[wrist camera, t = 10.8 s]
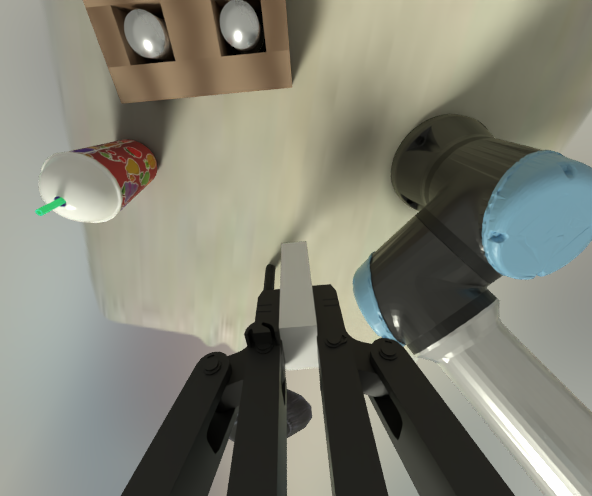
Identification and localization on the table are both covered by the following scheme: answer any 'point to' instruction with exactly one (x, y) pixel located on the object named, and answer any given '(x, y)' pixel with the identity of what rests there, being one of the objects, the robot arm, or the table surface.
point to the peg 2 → (241, 27)
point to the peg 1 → (148, 35)
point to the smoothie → (95, 180)
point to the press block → (191, 50)
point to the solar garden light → (296, 404)
